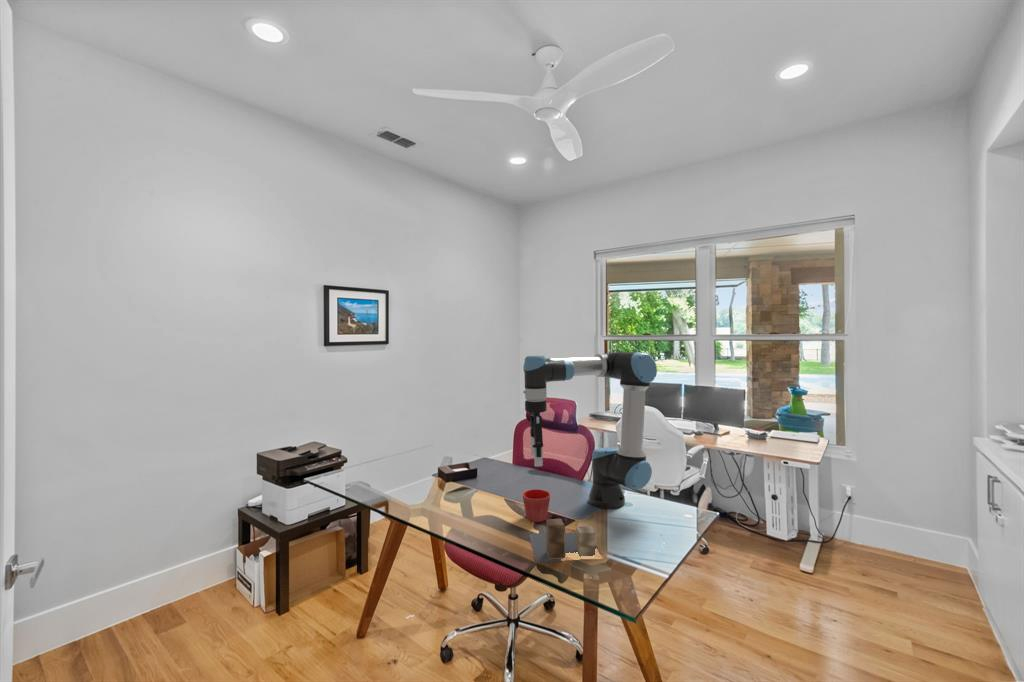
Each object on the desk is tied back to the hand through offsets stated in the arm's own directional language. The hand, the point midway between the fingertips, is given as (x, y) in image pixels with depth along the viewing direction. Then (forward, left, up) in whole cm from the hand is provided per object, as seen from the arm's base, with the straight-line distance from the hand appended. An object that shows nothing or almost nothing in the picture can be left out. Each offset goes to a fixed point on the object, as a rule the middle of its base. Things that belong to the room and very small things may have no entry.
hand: (536, 460), depth 160 cm
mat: (-8, +5, -29) cm, 30 cm away
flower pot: (-2, -20, -29) cm, 35 cm away
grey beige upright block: (-14, +11, -28) cm, 34 cm away
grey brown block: (-4, +11, -28) cm, 31 cm away
